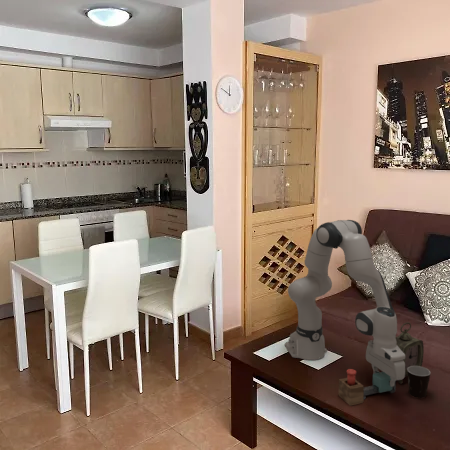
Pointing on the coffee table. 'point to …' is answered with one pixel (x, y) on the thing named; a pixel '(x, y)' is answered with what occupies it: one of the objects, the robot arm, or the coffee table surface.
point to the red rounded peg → (351, 377)
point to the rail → (376, 390)
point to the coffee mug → (418, 381)
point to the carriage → (382, 381)
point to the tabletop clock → (410, 349)
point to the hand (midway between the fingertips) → (383, 380)
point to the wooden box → (351, 392)
